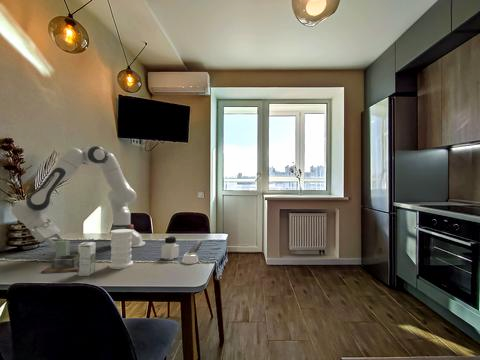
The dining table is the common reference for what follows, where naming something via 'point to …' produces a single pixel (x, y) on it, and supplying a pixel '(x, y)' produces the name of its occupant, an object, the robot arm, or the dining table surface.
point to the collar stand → (63, 264)
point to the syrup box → (86, 259)
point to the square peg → (62, 248)
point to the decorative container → (121, 249)
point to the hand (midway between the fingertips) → (58, 242)
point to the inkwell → (192, 254)
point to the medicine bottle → (170, 248)
